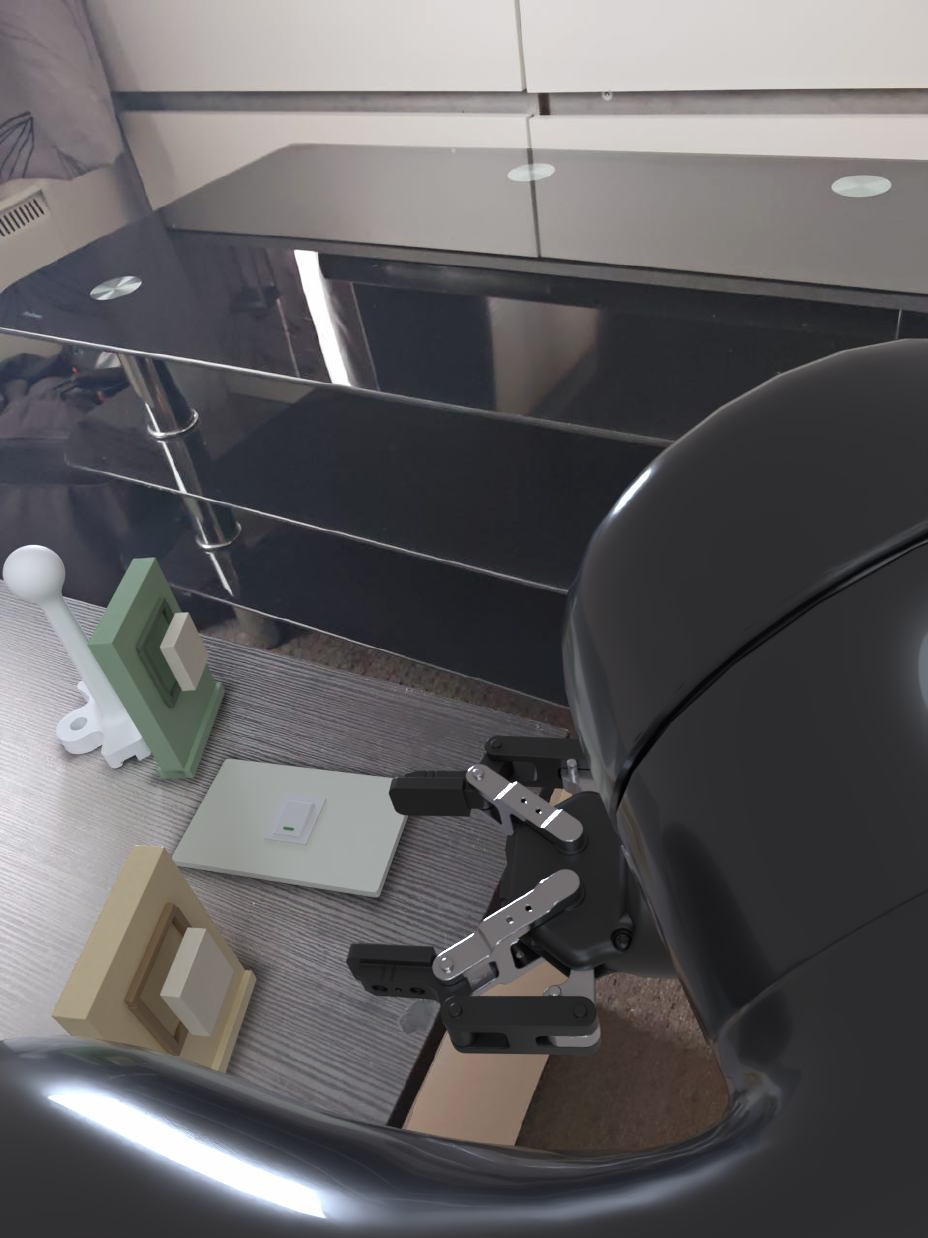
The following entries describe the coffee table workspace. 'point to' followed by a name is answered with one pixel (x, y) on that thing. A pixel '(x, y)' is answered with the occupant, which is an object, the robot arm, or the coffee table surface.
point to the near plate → (148, 967)
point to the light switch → (295, 827)
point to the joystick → (75, 661)
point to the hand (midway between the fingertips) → (374, 873)
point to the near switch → (197, 982)
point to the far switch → (184, 651)
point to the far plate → (154, 671)
